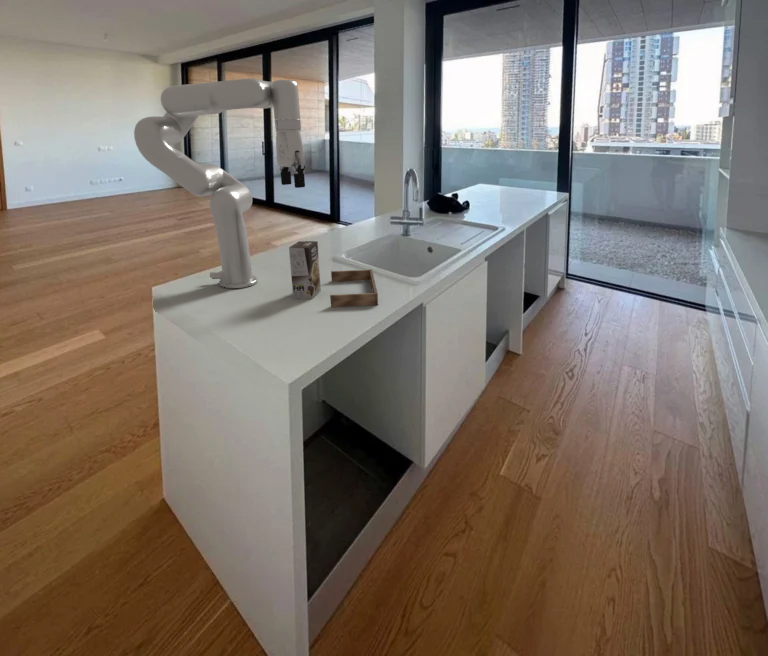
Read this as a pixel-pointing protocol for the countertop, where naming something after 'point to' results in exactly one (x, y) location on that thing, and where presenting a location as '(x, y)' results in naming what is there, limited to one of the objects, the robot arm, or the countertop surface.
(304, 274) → the coffee box
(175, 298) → the countertop surface
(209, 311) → the countertop surface
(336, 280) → the walnut bay
